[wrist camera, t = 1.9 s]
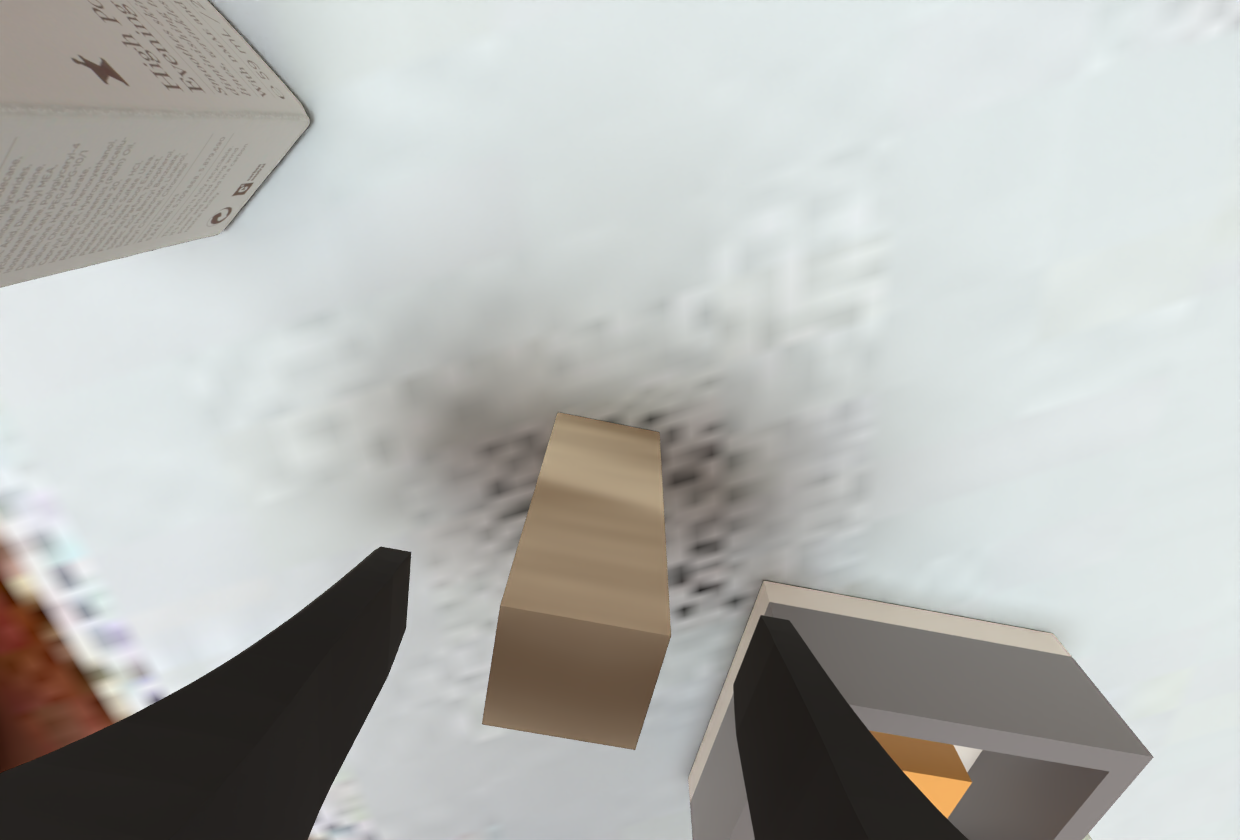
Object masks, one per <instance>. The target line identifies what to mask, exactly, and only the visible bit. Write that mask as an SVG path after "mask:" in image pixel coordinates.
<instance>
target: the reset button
mask: <svg viewBox="0 0 1240 840" xmlns="http://www.w3.org/2000/svg"><path fill="white" fill-rule="evenodd" d="M870 732H871V734H872V735H873V736H874V737H875V739H876V740H877V741H878V742H879V743H880V745H881V746H882V747H883V748H884V750H885V751H886V752H887V753H888V754H889V756H890V757H891V758H892V759H893V760H894V762H895V763H896V764H897V765H898V766H899V767H900V769H901V770H902V771H903V772H904V773H905V774H906V775H907V776H908V778H909V779H910V780H911V781H912V782H913V783H914V784H915V785H916V786H917V787H918V788H919V789H920V791H921V792H922V793H923V794H924V795H925V796H926V797H927V798H928V799H929V800H930V801H931V803H932V804H933V805H934V806H935V807H936V808H937V809H938V810H939V811H940V812H941V813H942V814H943V815H944V816H945V817H946V818H948V817H949V815H950V814H951V813H952V811H953V810H954V808H955V807H956V805H957V804H958V802H959V801H960V799H961V798H962V797H963V795H964V794H965V792H966V791H967V789H968V788H969V786H970V785H971V783H972V781H971V779H970V777H969V775H968V773H967V771H966V769H965V767H964V765H963V763H962V761H961V759H960V757H959V755H958V753H957V751H956V749H955V747H954V745H951V744H945V743H940V742H934V741H928V740H922V739H916V738H910V737H904V736H899V735H893V734H887V733H881V732H875V731H870Z"/></svg>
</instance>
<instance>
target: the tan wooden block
mask: <svg viewBox="0 0 1240 840" xmlns="http://www.w3.org/2000/svg"><path fill="white" fill-rule="evenodd" d="M670 638H671V626H670V609H669V591H668V574H667V556H666V538H665V521H664V503H663V486H662V468H661V451H660V433H659V432H656V431H650V430H645V429H640V428H635V427H630V426H625V425H620V424H615V423H610V422H605V421H600V420H594V419H589V418H584V417H579V416H574V415H569V414H564V413H559V412H558V413H557V416H556V419H555V423H554V426H553V429H552V433H551V436H550V440H549V443H548V446H547V450H546V453H545V456H544V460H543V463H542V467H541V470H540V473H539V477H538V480H537V483H536V487H535V490H534V494H533V497H532V500H531V504H530V507H529V510H528V514H527V517H526V521H525V524H524V527H523V531H522V534H521V537H520V541H519V544H518V547H517V551H516V554H515V558H514V561H513V564H512V568H511V571H510V574H509V578H508V581H507V585H506V588H505V591H504V595H503V598H502V601H501V605H500V611H499V617H498V624H497V630H496V636H495V643H494V649H493V656H492V662H491V669H490V675H489V682H488V688H487V695H486V701H485V708H484V714H483V721H482V724H483V725H489V726H495V727H501V728H507V729H513V730H519V731H525V732H531V733H537V734H543V735H549V736H555V737H561V738H567V739H573V740H579V741H585V742H591V743H597V744H603V745H609V746H615V747H621V748H627V749H633V750H635V749H636V745H637V742H638V739H639V736H640V733H641V730H642V726H643V723H644V720H645V717H646V714H647V711H648V707H649V704H650V701H651V698H652V695H653V692H654V688H655V685H656V682H657V679H658V676H659V673H660V669H661V666H662V663H663V660H664V657H665V654H666V650H667V647H668V644H669V641H670Z"/></svg>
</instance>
